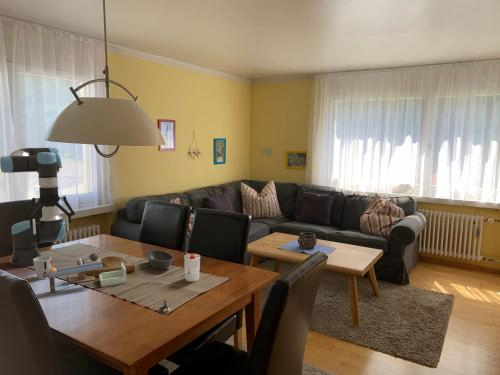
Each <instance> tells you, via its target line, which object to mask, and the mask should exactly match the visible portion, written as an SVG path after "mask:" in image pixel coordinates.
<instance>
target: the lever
mask: <svg viewBox="0 0 500 375" xmlns="http://www.w3.org/2000/svg"><path fill="white" fill-rule="evenodd" d="M98 259H99V256H98V254H97V253H96V252H91V253H90V254H89V256H85V257H79V258H78V260H79V264H80V265H78V264H77V265H73V266H68V267H62V268H61V267H60V268H56V270H57V272H56V273H51V274H50V273H49V271H48V278H47V279H49V278H53V277H54V278H57V277H63V276H70V275H76V274H78V273H80V272H85V273H87V272H92V271H95V270H100V269H101V270H103V269H104V265H103V262H102V261H97V260H98ZM83 260H84V261H85V260H90V261H91V262H90V263H85V264H84V265H83V264H82V263H83ZM96 261H97V262H96Z"/></svg>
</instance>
